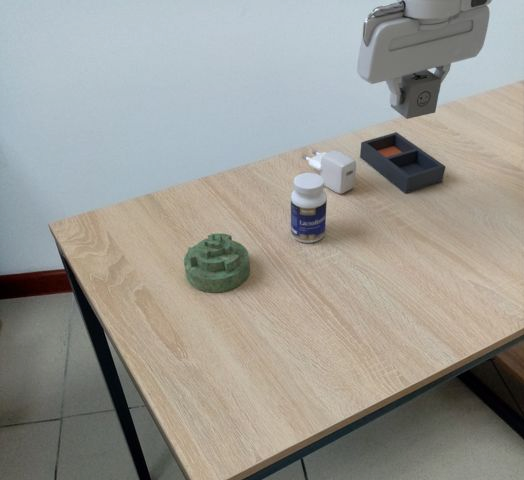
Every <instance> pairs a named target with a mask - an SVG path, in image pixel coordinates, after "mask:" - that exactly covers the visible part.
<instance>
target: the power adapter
mask: <svg viewBox="0 0 524 480" xmlns="http://www.w3.org/2000/svg"><path fill="white" fill-rule="evenodd" d="M311 153H312V154H313V155H314V156H312V157H309V156H307V155H306V154H302V155H301V158H302V159H304V160H305V161H307V162H308V163H307V164H308V165H309V167H310V168H311V169H313V170H315V171H317V172H318V173H320V174H319V175H320V176H322V177H323V179H324V187H326V188H327V189H329V190H331V191H333V192H335V193H336V194H341V195H342V194H345V193H347V192H348V191H350V190H352V189H353V188H354V186H355V183H356V174H357V173H356V172H357V171H356V170H357V162H356V159H355V158H353V157H351V156H350V155H347V154H346V153H344V152H342V151H339V150H336V149H333V150H331V151H329V152H327V151H323V152H319V151H317V150H315V149H313V150H312V151H311Z"/></svg>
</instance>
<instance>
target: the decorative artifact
mask: <svg viewBox="0 0 524 480" xmlns="http://www.w3.org/2000/svg"><path fill="white" fill-rule="evenodd" d="M183 265H184V270H185V275H186V279H187V281H188V283H189V284H190V285H191V286H192V287H193V288H195V289H197V290H198V291H201V292H205V293H212V294H213V293H225V292H229V291H231V290H234V289H237V288H238V287H240V286H241V285H243V283H245V282H246V280H247V279H248V278H249V276H250V273H251V266H250V255H249V251H248V250H247V248H246V247H245V246H244V245H243V244H241V243H240V242H238V241H236V240H233V237H232V235H230V234H228V233H220V232H219V233H210V234H208V235H207V238H204V239H202V240H201V241H199V242H198V243H197V244H195V245H194V246H192V247H188V249H187V252H186V254H185V255H184V259H183Z"/></svg>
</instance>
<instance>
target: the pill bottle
mask: <svg viewBox="0 0 524 480" xmlns="http://www.w3.org/2000/svg"><path fill="white" fill-rule="evenodd" d="M293 189H294V190H293V191H292V193H291V195H290V235H291V237H292V238H293V239H294V240H296V241H298V242H300V243H305V244H311V243H315V242H318V241H320V240H321V239H323V237H324V236H325V233H326V221H327V204H328V203H327V202H328V196H327V193H326V191H325V190H324V189H325V186H324V179H323V177H322V176H320V174H318V173H315V172H304V173H300V174H297V176H295V177H294V178H293Z"/></svg>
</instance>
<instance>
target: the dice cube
mask: <svg viewBox="0 0 524 480" xmlns="http://www.w3.org/2000/svg"><path fill="white" fill-rule="evenodd" d="M440 84H441V85H442V83H441V78H439V77H438V76H436V75H435V74H434V72H431V71H430V70H429V69H428V70H424V71H420V72H416V73H413V74H409V75H405V76H402V82H401V83H400V84H398V86H399V89H400V90H401V91H403V92H404V93H405V98H404V103H403V104H401V105H398V106H394V105H392V104H391V103H390V108H392V109H393V110H394V111H396V112H397V113H398V114H400V115H401V117H403V118H404V119H406V120H408V119H413V118H417V117H421V116H426V115H431V114H435V113H436V111H437V105H438V101H439V94H440V92H439V90H440V91H441V86H440Z"/></svg>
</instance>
